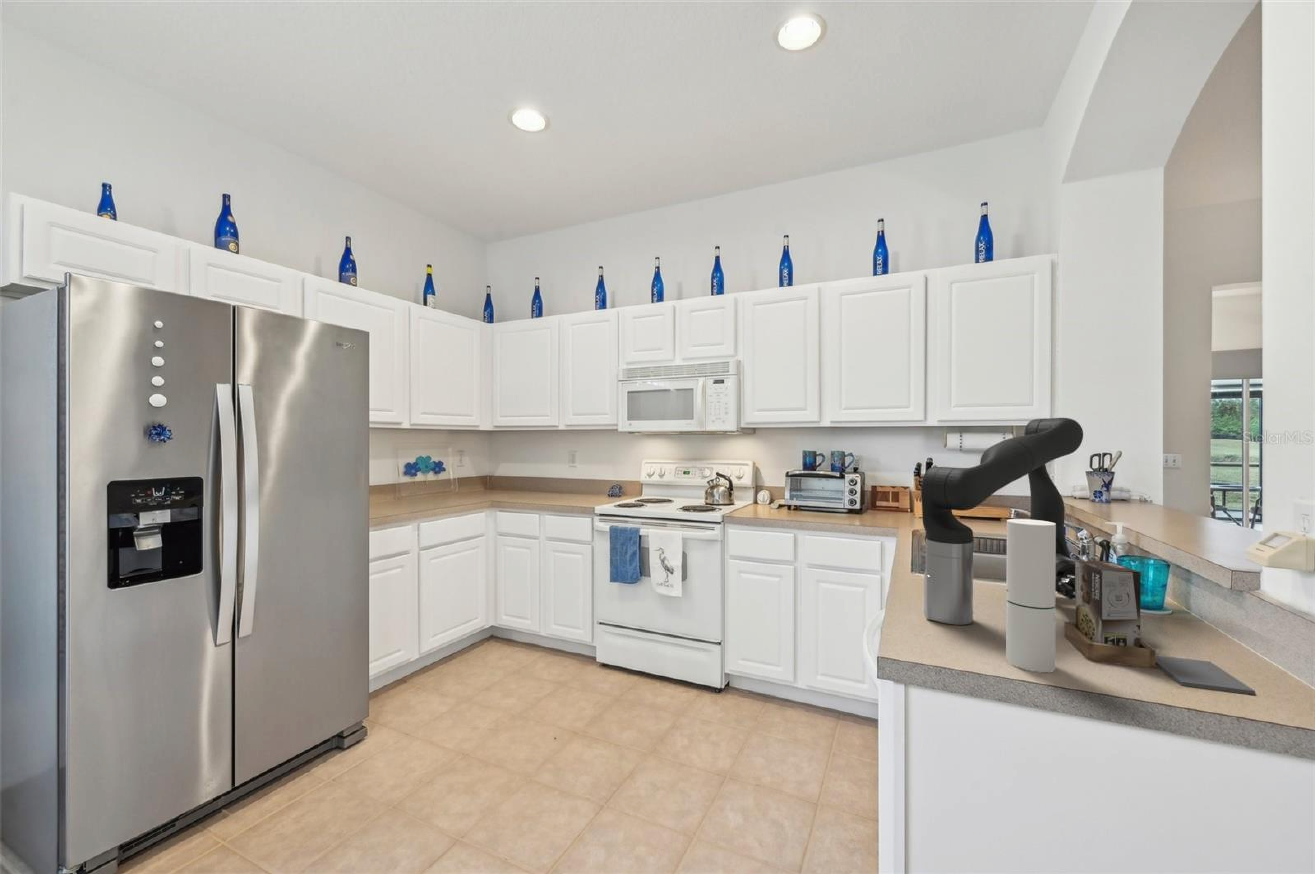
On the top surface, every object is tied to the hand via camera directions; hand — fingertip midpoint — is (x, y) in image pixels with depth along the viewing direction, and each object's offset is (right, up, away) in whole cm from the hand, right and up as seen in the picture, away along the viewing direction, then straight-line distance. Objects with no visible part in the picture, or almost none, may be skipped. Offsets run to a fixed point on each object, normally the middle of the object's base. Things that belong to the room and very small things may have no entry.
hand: (1097, 596), depth 107 cm
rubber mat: (+5, -9, -14) cm, 18 cm away
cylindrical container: (-20, -9, -10) cm, 24 cm away
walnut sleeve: (-2, -9, -4) cm, 10 cm away
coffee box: (-2, -9, -4) cm, 10 cm away
